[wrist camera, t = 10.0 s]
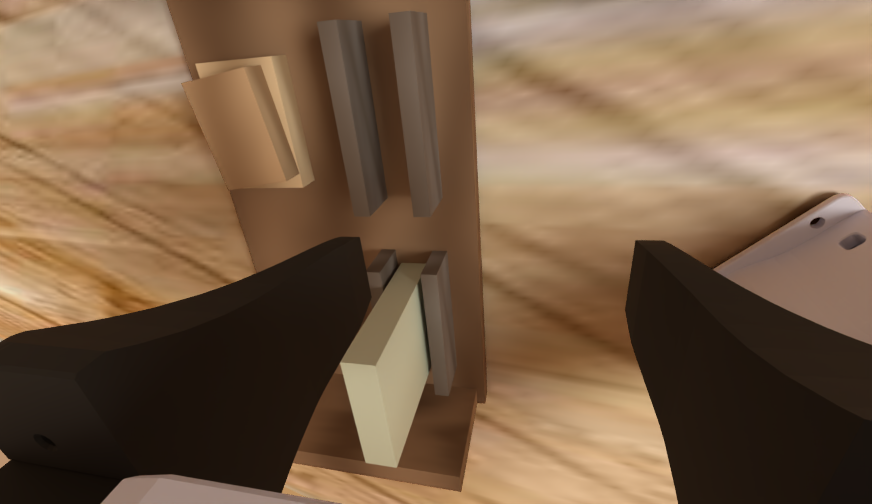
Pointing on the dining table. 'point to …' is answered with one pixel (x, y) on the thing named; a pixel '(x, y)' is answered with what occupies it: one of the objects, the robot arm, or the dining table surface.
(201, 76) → the offcut lower
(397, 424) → the beige flat block
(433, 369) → the rack
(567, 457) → the dining table surface
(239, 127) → the offcut upper
